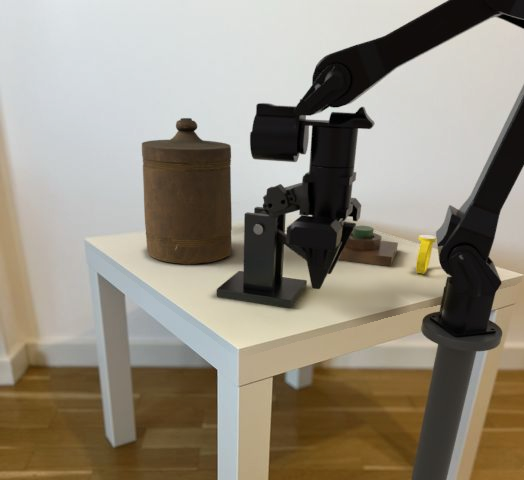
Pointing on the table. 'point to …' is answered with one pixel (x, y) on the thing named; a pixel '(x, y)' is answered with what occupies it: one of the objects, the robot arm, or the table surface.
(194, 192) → the wooden container
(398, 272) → the table surface
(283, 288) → the bracket
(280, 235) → the lever
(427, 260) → the watch
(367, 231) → the button
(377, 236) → the button box
